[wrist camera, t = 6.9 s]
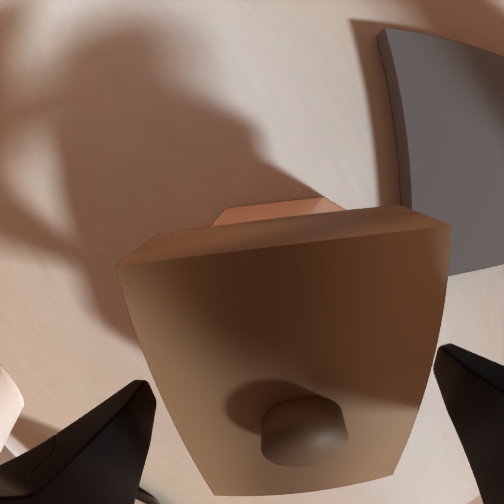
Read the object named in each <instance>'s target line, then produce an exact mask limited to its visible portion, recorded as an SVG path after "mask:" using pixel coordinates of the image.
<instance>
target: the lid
mask: <svg viewBox="0 0 504 504" xmlns="http://www.w3.org/2000/svg"><path fill="white" fill-rule="evenodd" d="M450 244H451V225H449V224H447V223H444V222H442V221H440V220H437V219H435V218H432V217H430V216H427V215H425V214H422V213H419V212H417V211H414V210H412V209H409V208H406V207H403V206H401V205H396V206H384V207H374V208H363V209H353V210H344V211H334V212H325V213H316V214H307V215H298V216H289V217H281V218H273V219H265V220H257V221H249V222H241V223H234V224H226V225H219V226H212V227H205V228H198V229H191V230H184V231H177V232H170V233H164V234H157V235H156V236H155V237H153V238H152V239H151V240H149V241H148V242H146V243H145V244H144V245H142V246H141V247H140V248H138V249H137V250H136V251H134V252H133V253H132V254H130V255H129V256H128V257H126V258H125V259H124V260H122V261H121V262H120V263H118V264H117V265H116V266H115V268H116V272H117V276H118V279H119V282H120V286H121V289H122V293H123V296H124V299H125V302H126V305H127V309H128V312H129V315H130V318H131V321H132V324H133V326H134V329H135V332H136V335H137V338H138V340H139V343H140V346H141V349H142V351H143V354H144V356H145V359H146V361H147V364H148V367H149V369H150V371H151V374H152V376H153V379H154V381H155V383H156V386H157V388H158V390H159V393H160V395H161V397H162V399H163V401H164V404H165V406H166V408H167V410H168V412H169V414H170V416H171V419H172V421H173V423H174V425H175V427H176V429H177V431H178V433H179V435H180V437H181V439H182V440H183V442H184V444H185V446H186V448H187V450H188V452H189V454H190V455H191V457H192V459H193V461H194V463H195V464H196V466H197V468H198V470H199V471H200V473H201V475H202V476H203V478H204V480H205V481H206V483H207V485H208V486H209V488H210V489H211V491H212V493H213V494H214V495H219V496H266V495H283V494H295V493H304V492H312V491H320V490H326V489H332V488H338V487H343V486H349V485H353V484H358V483H363V482H367V481H371V480H375V479H379V478H383V477H386V476H390V475H393V473H394V471H395V468H396V466H397V464H398V462H399V460H400V457H401V455H402V453H403V450H404V448H405V446H406V443H407V441H408V438H409V436H410V433H411V430H412V428H413V425H414V422H415V420H416V417H417V414H418V411H419V408H420V405H421V402H422V399H423V395H424V392H425V389H426V385H427V382H428V378H429V375H430V371H431V367H432V363H433V359H434V355H435V351H436V346H437V342H438V337H439V332H440V327H441V321H442V315H443V309H444V303H445V296H446V288H447V280H448V270H449V259H450Z"/></svg>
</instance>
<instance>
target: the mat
mask: <svg viewBox="0 0 504 504" xmlns="http://www.w3.org/2000/svg"><path fill="white" fill-rule="evenodd" d="M376 38H377V42H378V46H379V49H380V54H381V58H382V62H383V66H384V71H385V76H386V80H387V86H388V91H389V96H390V102H391V108H392V114H393V121H394V128H395V136H396V145H397V154H398V165H399V178H400V196H401V206H403V207H406V208H409V209H412V210H414V211H417V212H419V213H422V214H425V215H427V216H430V217H432V218H435V219H437V220H440V221H442V222H444V223H447V224H449V225H451V244H450V259H449V270H448V276H451V275H456V274H461V273H466V272H471V271H475V270H480V269H484V268H489V267H493V266H498V265H502V264H504V57H502V56H500V55H497V54H494V53H491V52H489V51H486V50H483V49H480V48H477V47H473V46H470V45H467V44H463V43H460V42H456V41H453V40H449V39H445V38H440V37H436V36H432V35H427V34H422V33H417V32H411V31H405V30H399V29H391V28H384V29H383V30H382V31H381V32H380V33H379V34H378V35H377V36H376Z"/></svg>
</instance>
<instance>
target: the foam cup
mask: <svg viewBox="0 0 504 504" xmlns="http://www.w3.org/2000/svg"><path fill="white" fill-rule="evenodd" d="M23 407H24V402H23V397H22V395H21V393H20V391H19V389H18V387H17V385H16V384H15V382H14V381H13V380H12V378H11V377H10V376H9V374H8V373H7V371H6V370H5V369H4V368H3V367H2V366H1V365H0V452H1V450H2V448H3V446H4V444H5V442H6V440H7V438H8V436H9V434H10V432H11V430H12V428H13V426H14V424H15V422H16V420H17V418H18V417H19V415H20V413H21V409H22V408H23Z"/></svg>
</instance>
